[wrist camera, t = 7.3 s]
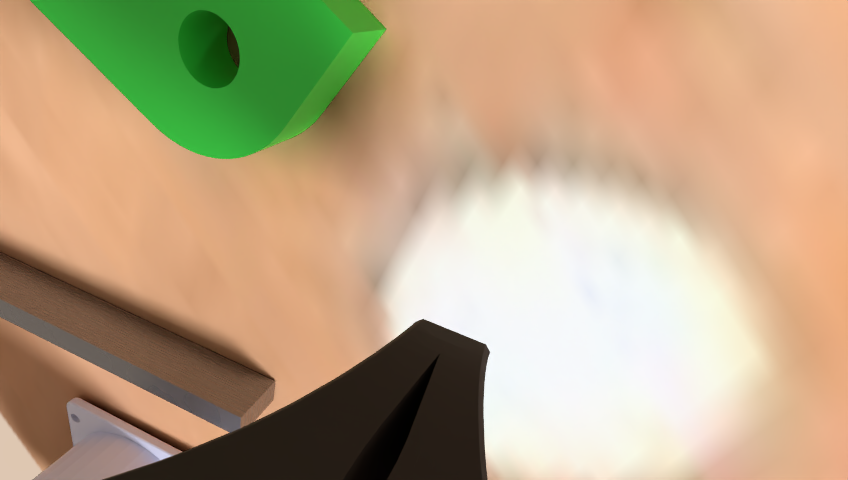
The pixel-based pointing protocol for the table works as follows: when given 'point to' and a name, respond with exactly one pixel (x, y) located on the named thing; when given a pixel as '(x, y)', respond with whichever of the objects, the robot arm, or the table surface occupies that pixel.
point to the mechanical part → (222, 63)
